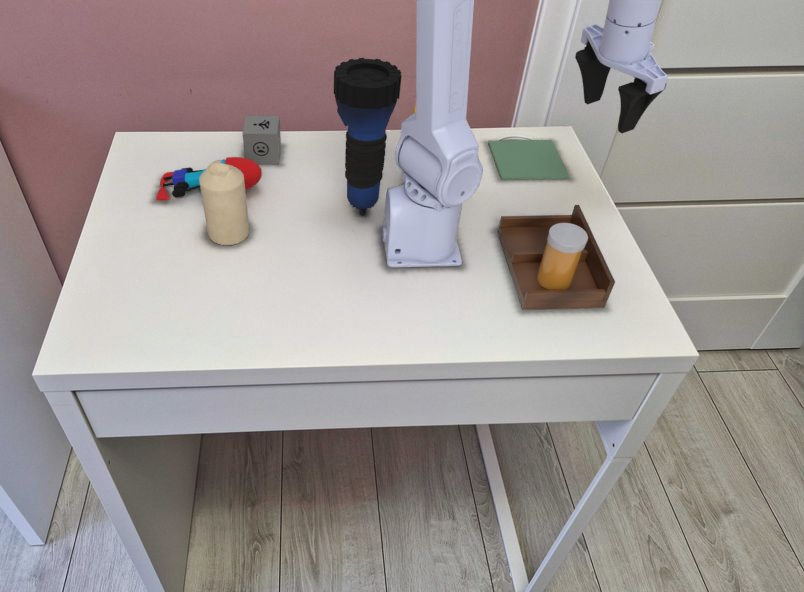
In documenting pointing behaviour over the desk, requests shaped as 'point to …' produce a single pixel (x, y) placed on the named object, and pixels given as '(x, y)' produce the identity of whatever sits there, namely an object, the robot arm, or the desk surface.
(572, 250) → the disc
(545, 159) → the green mat
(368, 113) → the flashlight
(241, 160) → the toy figure
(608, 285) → the tray
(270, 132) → the dice cube
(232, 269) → the desk surface
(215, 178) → the candle
